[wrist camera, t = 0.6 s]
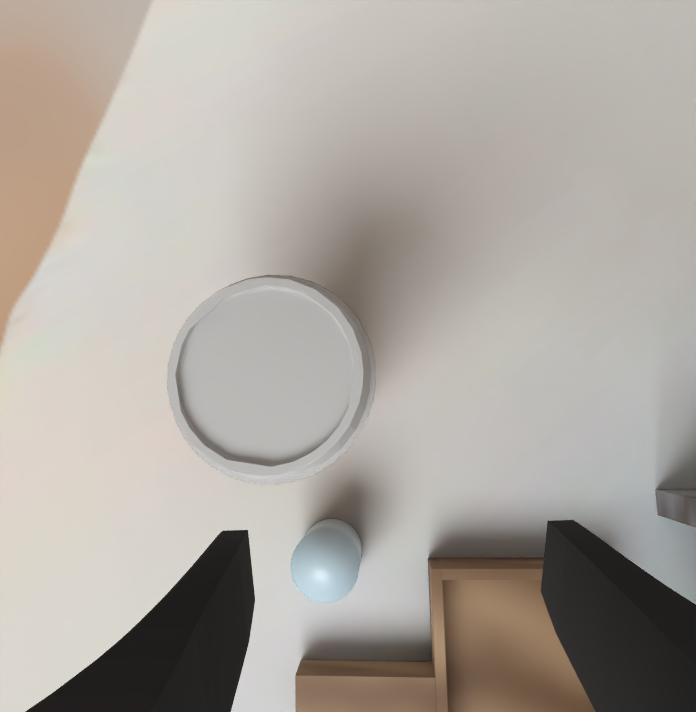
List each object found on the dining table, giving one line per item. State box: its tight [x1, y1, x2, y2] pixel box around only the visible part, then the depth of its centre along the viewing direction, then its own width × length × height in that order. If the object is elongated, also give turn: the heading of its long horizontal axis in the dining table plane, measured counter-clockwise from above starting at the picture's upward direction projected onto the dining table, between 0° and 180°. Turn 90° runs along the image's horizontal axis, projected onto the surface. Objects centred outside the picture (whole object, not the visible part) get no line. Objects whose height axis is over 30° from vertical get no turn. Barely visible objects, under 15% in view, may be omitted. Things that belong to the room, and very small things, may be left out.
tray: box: [296, 558, 595, 712], centre depth 29 cm, size 15×18×2 cm
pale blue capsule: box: [291, 519, 362, 603], centre depth 30 cm, size 4×4×4 cm
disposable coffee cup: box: [167, 275, 376, 485], centre depth 28 cm, size 10×10×12 cm
